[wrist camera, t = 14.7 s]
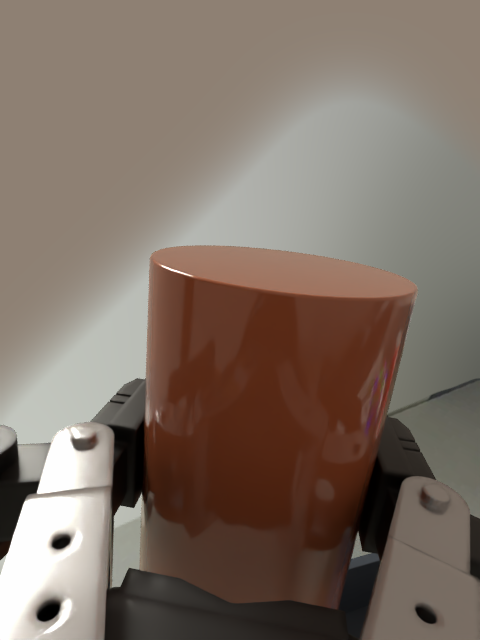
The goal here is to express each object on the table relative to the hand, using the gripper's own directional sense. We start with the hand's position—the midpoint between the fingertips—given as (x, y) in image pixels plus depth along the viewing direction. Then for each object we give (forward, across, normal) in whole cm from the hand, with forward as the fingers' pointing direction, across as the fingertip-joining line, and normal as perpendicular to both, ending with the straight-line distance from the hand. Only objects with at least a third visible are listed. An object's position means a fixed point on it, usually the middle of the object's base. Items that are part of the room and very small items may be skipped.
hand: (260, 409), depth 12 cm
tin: (-3, 0, +7) cm, 7 cm away
